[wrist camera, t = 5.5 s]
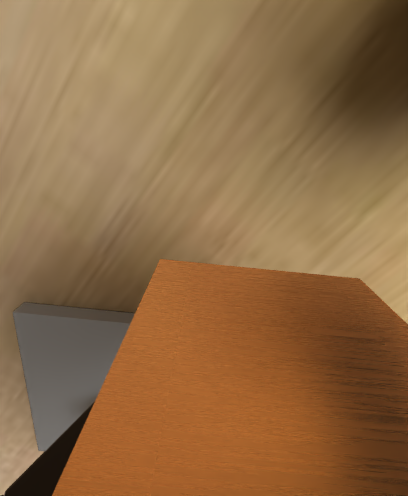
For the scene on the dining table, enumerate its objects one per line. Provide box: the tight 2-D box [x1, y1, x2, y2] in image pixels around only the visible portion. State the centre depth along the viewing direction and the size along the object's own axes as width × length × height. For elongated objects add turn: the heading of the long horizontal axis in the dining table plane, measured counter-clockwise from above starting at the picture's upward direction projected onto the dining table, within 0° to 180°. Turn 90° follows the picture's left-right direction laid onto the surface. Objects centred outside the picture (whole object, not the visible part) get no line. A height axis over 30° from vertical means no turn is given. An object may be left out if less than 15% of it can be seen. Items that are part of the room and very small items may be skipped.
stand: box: [13, 302, 135, 451], centre depth 20 cm, size 14×14×5 cm
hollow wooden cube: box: [52, 259, 408, 496], centre depth 6 cm, size 6×6×6 cm
